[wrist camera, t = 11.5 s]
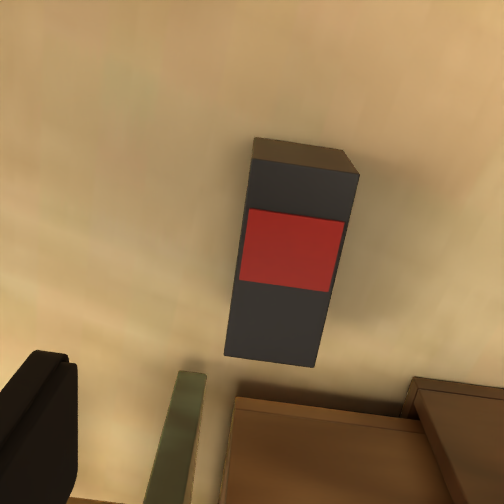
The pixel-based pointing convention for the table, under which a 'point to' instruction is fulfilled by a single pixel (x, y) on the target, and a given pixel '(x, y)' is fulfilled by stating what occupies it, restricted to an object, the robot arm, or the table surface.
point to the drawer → (295, 455)
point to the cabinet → (462, 435)
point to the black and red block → (289, 250)
